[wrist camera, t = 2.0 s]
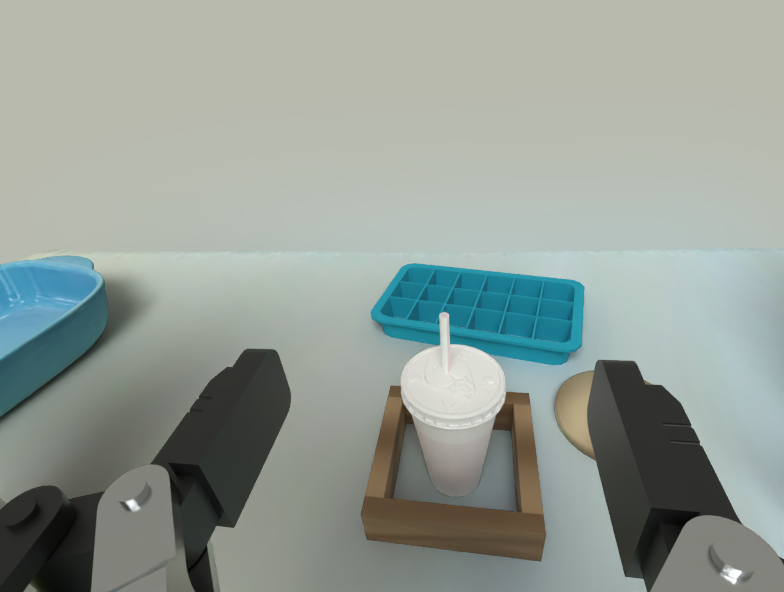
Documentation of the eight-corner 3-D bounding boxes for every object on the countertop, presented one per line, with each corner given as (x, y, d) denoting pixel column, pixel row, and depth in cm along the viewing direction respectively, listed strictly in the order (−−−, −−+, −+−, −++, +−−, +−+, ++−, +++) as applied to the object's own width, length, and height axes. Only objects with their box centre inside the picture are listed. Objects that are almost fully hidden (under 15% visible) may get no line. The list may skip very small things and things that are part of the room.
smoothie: (459, 423, 35) (457, 276, 28) (519, 481, 31) (537, 323, 23) (394, 465, 33) (371, 316, 25) (448, 535, 28) (441, 378, 20)
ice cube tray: (576, 377, 39) (581, 352, 37) (369, 341, 46) (366, 318, 44) (580, 304, 47) (584, 281, 46) (406, 283, 55) (405, 262, 53)
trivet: (552, 453, 32) (553, 445, 32) (557, 371, 39) (558, 362, 38) (693, 484, 29) (698, 476, 29) (672, 389, 36) (675, 380, 36)
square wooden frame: (540, 561, 26) (545, 535, 25) (367, 539, 28) (360, 514, 27) (525, 419, 35) (528, 393, 33) (394, 410, 37) (390, 385, 35)
